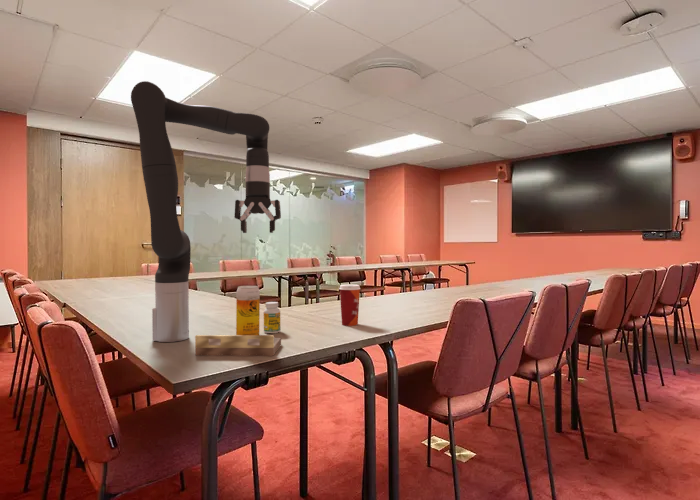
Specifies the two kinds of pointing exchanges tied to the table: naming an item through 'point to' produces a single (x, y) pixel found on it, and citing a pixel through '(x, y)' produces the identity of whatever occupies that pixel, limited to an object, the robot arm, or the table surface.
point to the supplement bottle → (272, 318)
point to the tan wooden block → (236, 345)
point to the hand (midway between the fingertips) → (257, 232)
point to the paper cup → (349, 304)
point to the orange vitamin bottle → (247, 310)
